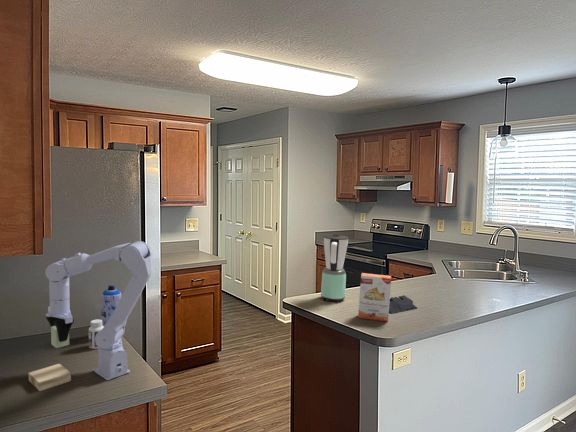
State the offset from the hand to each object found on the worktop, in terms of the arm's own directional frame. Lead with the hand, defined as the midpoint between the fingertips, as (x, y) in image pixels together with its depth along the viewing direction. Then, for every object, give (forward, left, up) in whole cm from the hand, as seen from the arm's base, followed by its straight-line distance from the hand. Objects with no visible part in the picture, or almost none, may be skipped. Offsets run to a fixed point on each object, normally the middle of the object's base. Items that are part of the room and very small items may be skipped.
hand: (60, 338), depth 140 cm
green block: (0, 0, -2) cm, 2 cm away
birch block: (-5, +5, -11) cm, 13 cm away
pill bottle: (+10, -17, -11) cm, 22 cm away
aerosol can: (+16, -26, -11) cm, 32 cm away
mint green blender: (-17, -133, -11) cm, 134 cm away
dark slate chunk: (-46, -147, -11) cm, 154 cm away
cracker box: (-47, -123, -11) cm, 132 cm away
